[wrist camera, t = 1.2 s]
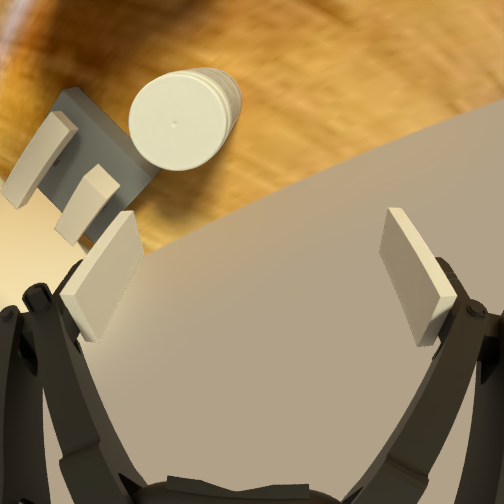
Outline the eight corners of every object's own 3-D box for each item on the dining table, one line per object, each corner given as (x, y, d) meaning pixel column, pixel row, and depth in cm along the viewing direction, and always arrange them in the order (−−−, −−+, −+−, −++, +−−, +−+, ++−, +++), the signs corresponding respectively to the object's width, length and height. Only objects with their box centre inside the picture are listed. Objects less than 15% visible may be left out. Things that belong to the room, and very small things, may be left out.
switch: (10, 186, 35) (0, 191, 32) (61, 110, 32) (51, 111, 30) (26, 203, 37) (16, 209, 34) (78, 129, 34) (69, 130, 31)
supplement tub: (185, 58, 34) (142, 58, 22) (254, 81, 36) (245, 89, 23) (163, 124, 39) (116, 155, 27) (227, 146, 41) (207, 187, 29)
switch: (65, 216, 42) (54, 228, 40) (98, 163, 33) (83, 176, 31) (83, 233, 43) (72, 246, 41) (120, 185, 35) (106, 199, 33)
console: (32, 160, 42) (9, 175, 37) (77, 86, 36) (51, 92, 30) (104, 231, 50) (87, 253, 44) (161, 169, 43) (146, 186, 38)
